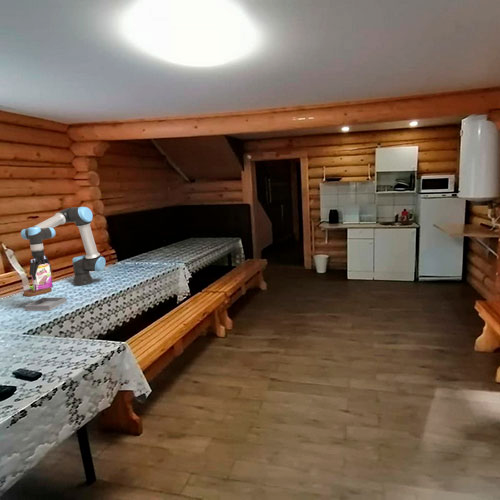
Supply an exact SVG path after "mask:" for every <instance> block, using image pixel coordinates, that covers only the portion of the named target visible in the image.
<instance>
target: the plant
mask: <svg viewBox="0 0 500 500" xmlns="http://www.w3.org/2000/svg"><path fill="white" fill-rule="evenodd" d="M28 287H29V289H26V290H23V293H22V296H23V297H24V296H25V297H26V298H31V297H37V296H41V295H45V294H49V293H51V292H52V287H51V288H46V289H42V290H37V291H35V290H34V289H33V284H32V286H31V285H30V286H28ZM25 297H24V298H25Z"/></svg>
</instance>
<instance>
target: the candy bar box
mask: <svg viewBox="0 0 500 500" xmlns="http://www.w3.org/2000/svg"><path fill="white" fill-rule="evenodd" d="M50 265H51V263H50V264H48V263H46V264H39V266H38V269H37V272H36V275H37V277H38V283H39V284H34V280H33V277H32V275H30V276H31V281H32V282H31V283H32V285H33V286H32V287H33V289H34V290H35V291H37V290H42V289H46V288H51V289H52V288H54V286H53V277H52V273H51V272H52V271H51V270H52V269H51V270H50Z"/></svg>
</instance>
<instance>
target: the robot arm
mask: <svg viewBox="0 0 500 500" xmlns="http://www.w3.org/2000/svg"><path fill="white" fill-rule="evenodd" d="M93 217H94V214H93V212H92V210H91V209H90V208H89V207H87V206H78V207H77V206H76V207H75V206H74V207H67V208H63V209H62V210H60V211H58V212H56V213H55V214H54V215H53V216H51V217H49V218H47V219H45V220H43V221H41V222H39V223H37V224H36V225H34V226H32V227H31V226H30V227H28V228H23V229H22V230H21V231H20V237H21V238H22V239H23V240H26V241H27V240H28V242H29V246H30V251H31V252H30V253H31V257H32V258H33V259H30V260H29V263H30V265H29V273H28V274H29V276H31V275H32V276H31V278H32V277H33V280H34V284H39V283H38V277H37V275H36V272H37V269H38V266H39V265H41V264H46V263H48V264H50V270H52V265H51V263H50V261H49V258H48V255H45V250H44V248H45V247H44V243H43V241H44V240H49V239H53V238H54V237H56V230H55V229H54V228H56V227H58V226H60V225H65V224H67V223H69V224H70V223H74V224H75V226H76V227H77V228H78V231H79V234H80V237H81V240H82V245H83V248H84V251H85V253H86V254H83V255H78V256H75V257H73V258H72V260H71V261H72V267H73V275H74V277H73V282H72V283H73V284H72V285H74V286H76V287H77V286H78V287H79V286H86V285H90V284H93V283H94V280H93V279H94V278H93V277H92V275H91V273H90V272H100V271H101V272H102V271H103V270H104V269H105V266H106V258H105V257H104V256H101V252H99V251H98V248H97V244H96V242H95V238H94V234H93V231H92V228H91V224H92V221H93Z"/></svg>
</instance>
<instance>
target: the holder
mask: <svg viewBox="0 0 500 500" xmlns="http://www.w3.org/2000/svg"><path fill="white" fill-rule="evenodd" d="M67 302H68V301H67V297H66V296H64V297H62V296H60V297H58V296H57V297H56V296H54V297H52V296H51V297H41V298H39V299H37V300H35V301H33V302H30V303H28V304H26V305H24V310H25V312H45V311H46V312H50V311H52V310H55V309H56V308H58V307H60V306H62V305H64V304H66V303H67Z"/></svg>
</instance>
